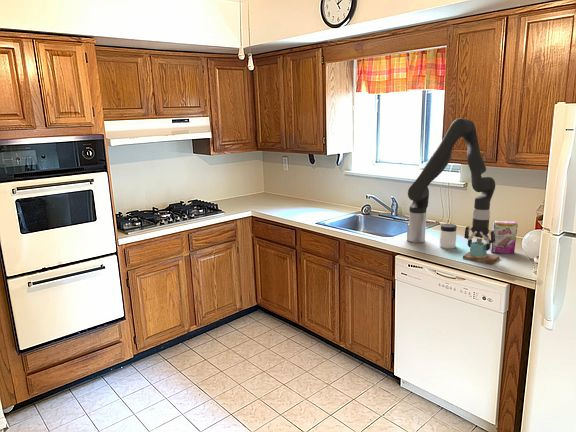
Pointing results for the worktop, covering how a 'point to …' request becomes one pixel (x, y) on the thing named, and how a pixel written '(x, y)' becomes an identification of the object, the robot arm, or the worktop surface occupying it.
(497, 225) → the candy bar box
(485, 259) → the post stand
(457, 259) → the worktop surface
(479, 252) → the collar
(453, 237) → the jar
